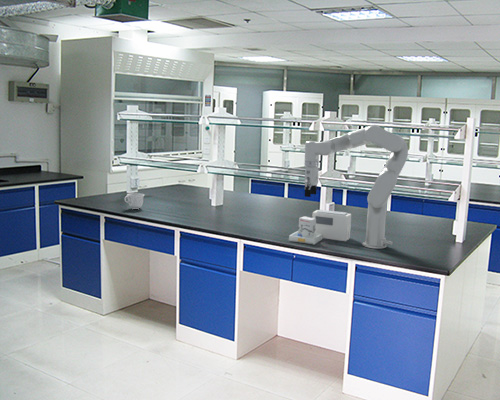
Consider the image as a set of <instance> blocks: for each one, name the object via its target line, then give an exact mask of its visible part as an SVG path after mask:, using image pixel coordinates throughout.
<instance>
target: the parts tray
mask: <svg viewBox="0 0 500 400" xmlns="http://www.w3.org/2000/svg"><path fill="white" fill-rule="evenodd" d="M323 239H324V238H323V234H320V233H315V238H314V239H313V238H306V237H299V236H298V230H297V231H295V232H293V233H290V234H288V241H289V242H295V243H301V244H308V245H316V244H318V243H319V242H321V241H322V240H323Z"/></svg>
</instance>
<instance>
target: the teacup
mask: <svg viewBox="0 0 500 400" xmlns="http://www.w3.org/2000/svg"><path fill="white" fill-rule="evenodd" d="M144 197H145V194H144V193H140V192H132V193H127V194H126V196H124V202H125V203H127V204H128V205H129V207H130V208H131V210H133V209H138V210H140V209H141V207H143V205H144V204H143V203H144ZM139 208H140V209H139Z"/></svg>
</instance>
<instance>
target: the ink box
mask: <svg viewBox="0 0 500 400" xmlns="http://www.w3.org/2000/svg"><path fill="white" fill-rule="evenodd" d="M315 229H316V219H315V218H312V217H310V216H306V215H305V216H301V217H299V218H298V230H297V231H298V236H299V237H306V238H313V239H314V238H315Z"/></svg>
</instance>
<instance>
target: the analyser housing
mask: <svg viewBox="0 0 500 400" xmlns="http://www.w3.org/2000/svg"><path fill="white" fill-rule="evenodd" d="M311 218H315V219H316V229H315V233H320V234H323V239H328V240H332V241H333V240H334V241H341V242H347V241H348V240H350V238H351V226H352V213H348V212H345V211H336V210H327V209H316V210H314V211H313V212H312V217H311Z"/></svg>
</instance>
